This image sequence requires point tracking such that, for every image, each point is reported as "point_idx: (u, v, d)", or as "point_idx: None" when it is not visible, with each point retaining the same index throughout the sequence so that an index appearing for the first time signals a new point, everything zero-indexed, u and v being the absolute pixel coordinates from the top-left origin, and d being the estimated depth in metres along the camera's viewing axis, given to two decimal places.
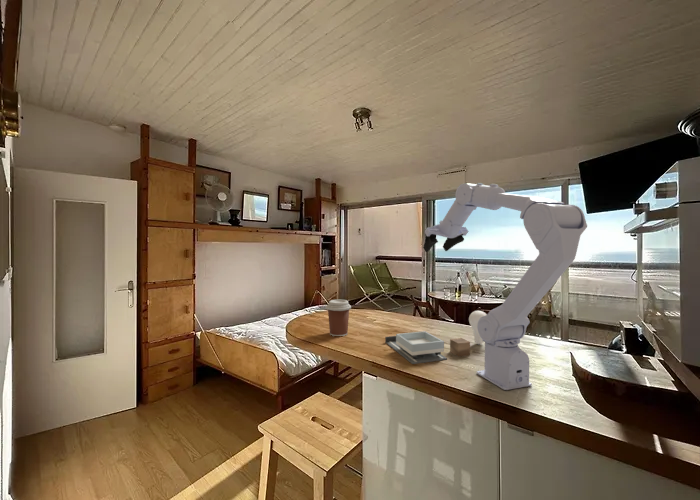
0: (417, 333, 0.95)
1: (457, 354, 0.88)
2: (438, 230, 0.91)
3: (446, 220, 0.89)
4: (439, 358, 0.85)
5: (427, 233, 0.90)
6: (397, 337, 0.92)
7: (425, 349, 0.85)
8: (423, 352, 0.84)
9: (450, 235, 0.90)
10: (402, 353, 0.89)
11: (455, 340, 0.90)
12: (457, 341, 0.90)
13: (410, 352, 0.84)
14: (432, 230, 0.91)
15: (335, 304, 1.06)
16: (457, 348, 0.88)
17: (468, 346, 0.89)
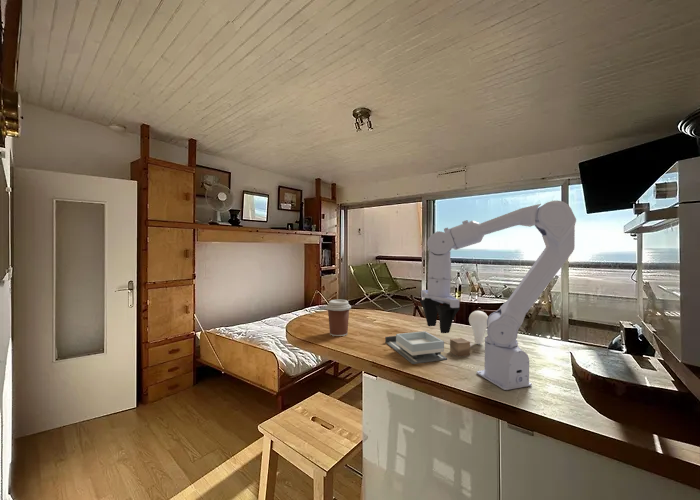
0: (417, 333, 0.95)
1: (457, 354, 0.88)
2: None
3: (445, 281, 0.77)
4: (439, 358, 0.85)
5: (457, 304, 0.73)
6: (397, 337, 0.92)
7: (425, 349, 0.85)
8: (423, 352, 0.84)
9: None
10: (402, 353, 0.89)
11: (455, 340, 0.90)
12: (457, 341, 0.90)
13: (410, 352, 0.84)
14: None
15: (335, 304, 1.06)
16: (457, 348, 0.88)
17: (468, 346, 0.89)
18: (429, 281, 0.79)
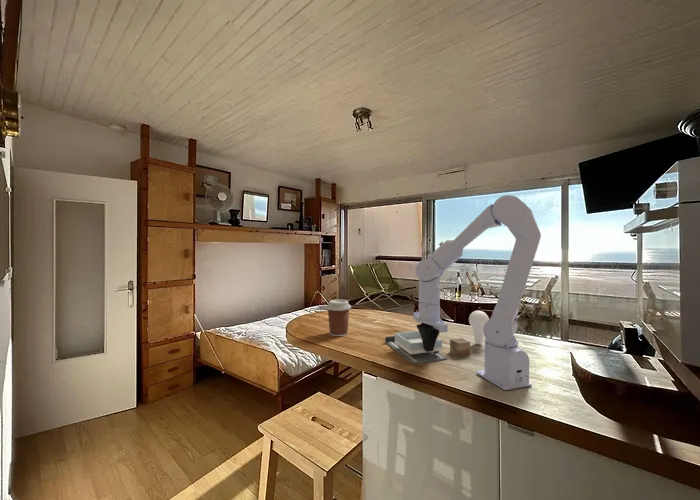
0: (416, 332, 0.96)
1: (457, 354, 0.88)
2: None
3: (435, 306, 0.81)
4: (439, 358, 0.85)
5: (446, 328, 0.78)
6: (396, 336, 0.93)
7: (423, 348, 0.85)
8: (421, 350, 0.85)
9: None
10: (402, 353, 0.89)
11: (455, 340, 0.90)
12: (457, 341, 0.90)
13: (408, 351, 0.85)
14: None
15: (335, 304, 1.06)
16: (457, 348, 0.88)
17: (468, 346, 0.89)
18: (419, 306, 0.84)
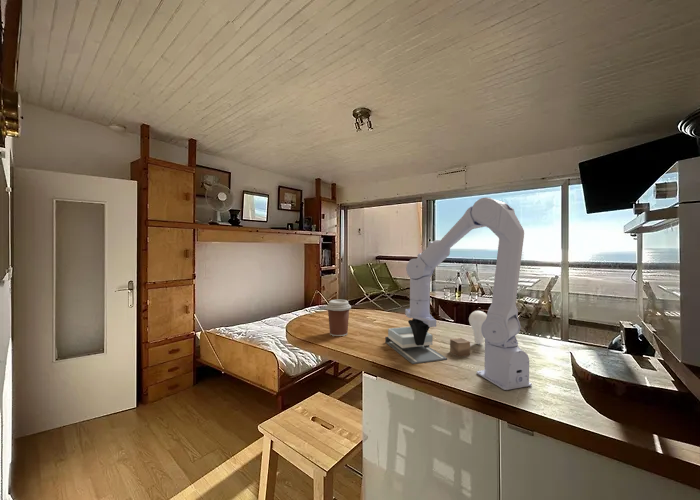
0: (408, 328, 1.00)
1: (457, 354, 0.88)
2: None
3: (425, 303, 0.86)
4: (439, 358, 0.85)
5: (434, 323, 0.83)
6: (389, 331, 0.98)
7: (414, 342, 0.90)
8: (413, 345, 0.90)
9: None
10: (402, 353, 0.89)
11: (455, 340, 0.90)
12: (457, 341, 0.90)
13: (400, 345, 0.90)
14: (430, 319, 0.84)
15: (335, 304, 1.06)
16: (457, 348, 0.88)
17: (468, 346, 0.89)
18: (411, 302, 0.89)
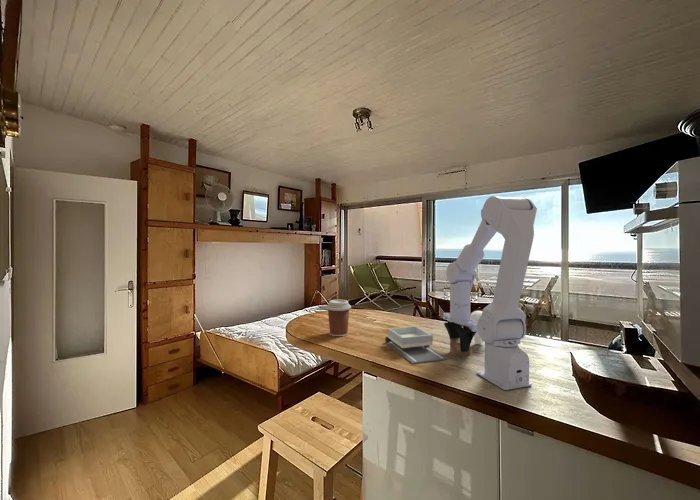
0: (408, 328, 1.00)
1: (457, 354, 0.88)
2: None
3: (466, 307, 0.87)
4: (439, 358, 0.85)
5: None
6: (389, 331, 0.98)
7: (414, 342, 0.90)
8: (413, 345, 0.90)
9: None
10: (402, 353, 0.89)
11: (455, 340, 0.90)
12: (457, 340, 0.90)
13: (400, 345, 0.90)
14: None
15: (335, 304, 1.06)
16: (457, 348, 0.88)
17: None
18: (451, 307, 0.89)
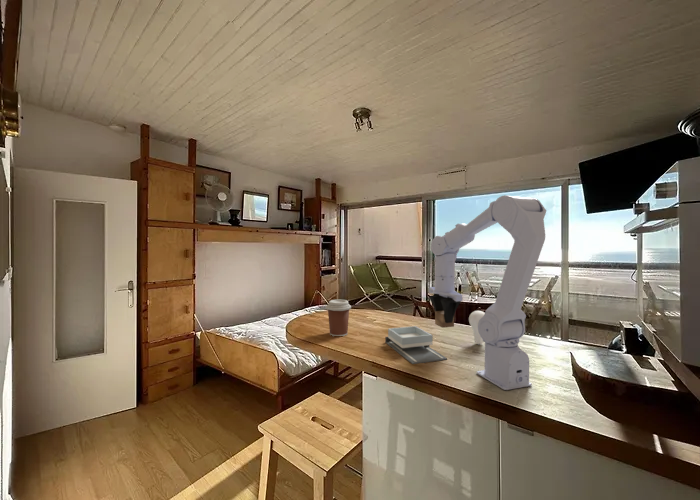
0: (408, 328, 1.00)
1: (441, 325, 0.90)
2: None
3: (450, 279, 0.89)
4: (439, 358, 0.85)
5: (461, 298, 0.85)
6: (389, 331, 0.98)
7: (414, 342, 0.90)
8: (413, 345, 0.90)
9: None
10: (402, 353, 0.89)
11: (440, 312, 0.92)
12: (441, 312, 0.91)
13: (400, 345, 0.90)
14: None
15: (335, 304, 1.06)
16: (441, 319, 0.90)
17: None
18: (436, 279, 0.91)
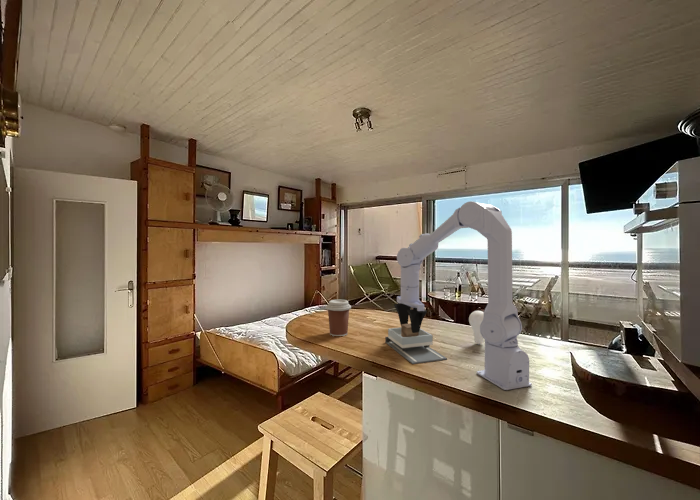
0: None
1: None
2: None
3: (414, 289, 0.92)
4: (439, 358, 0.85)
5: (423, 308, 0.88)
6: (389, 331, 0.98)
7: (414, 342, 0.90)
8: (413, 345, 0.90)
9: (418, 299, 0.95)
10: (402, 353, 0.89)
11: (405, 325, 0.96)
12: (407, 325, 0.95)
13: (400, 345, 0.90)
14: None
15: (335, 304, 1.06)
16: (406, 332, 0.93)
17: None
18: (401, 289, 0.94)
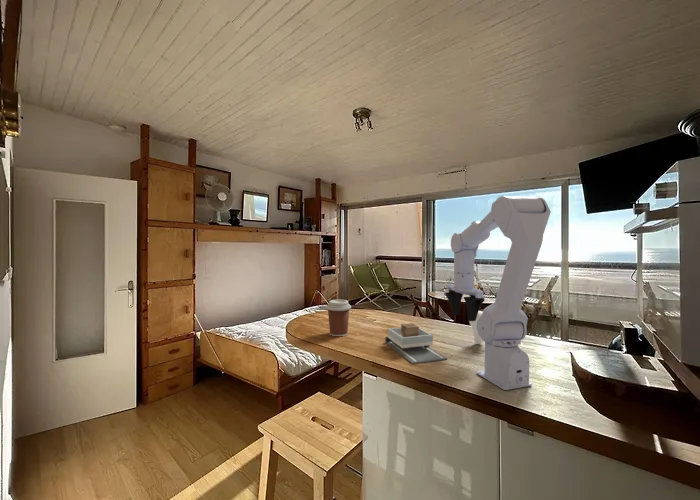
0: None
1: None
2: None
3: (470, 276, 0.89)
4: (439, 358, 0.85)
5: (482, 295, 0.85)
6: (389, 331, 0.98)
7: (414, 342, 0.90)
8: (413, 345, 0.90)
9: None
10: (402, 353, 0.89)
11: (405, 325, 0.96)
12: (407, 325, 0.95)
13: (400, 345, 0.90)
14: None
15: (335, 304, 1.06)
16: (406, 332, 0.93)
17: (417, 330, 0.94)
18: (455, 276, 0.91)
